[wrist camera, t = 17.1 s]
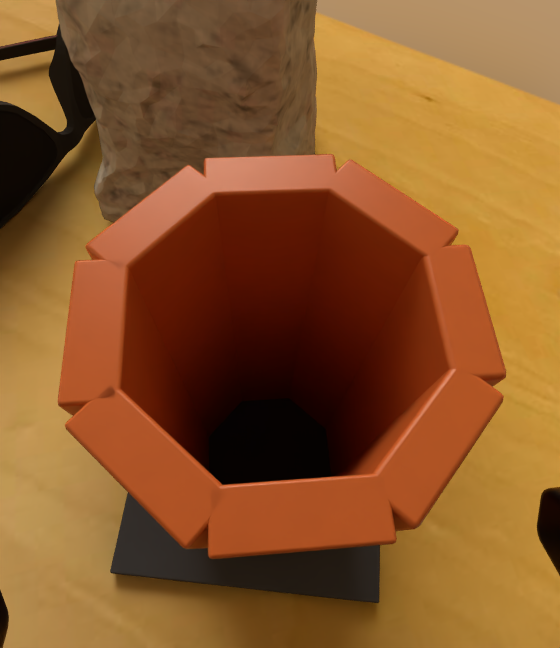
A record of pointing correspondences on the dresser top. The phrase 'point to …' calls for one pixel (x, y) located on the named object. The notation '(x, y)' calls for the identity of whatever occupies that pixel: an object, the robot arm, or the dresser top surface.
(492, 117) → the dresser top surface
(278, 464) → the felt mat
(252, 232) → the octagonal orange vase
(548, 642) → the dresser top surface
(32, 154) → the sunglasses
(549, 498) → the robot arm
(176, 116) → the decorative stone
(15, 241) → the dresser top surface
